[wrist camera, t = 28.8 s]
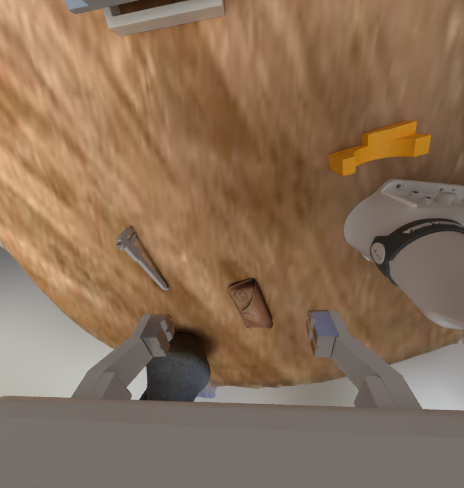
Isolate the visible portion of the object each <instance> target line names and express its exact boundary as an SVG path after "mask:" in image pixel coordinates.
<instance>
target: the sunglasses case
mask: <svg viewBox="0 0 464 488" xmlns="http://www.w3.org/2000/svg"><path fill="white" fill-rule="evenodd" d="M227 291H228V293H229V295H230V296H231V298H232V299H233V301H234V303H235V305H236V306H237V308H238V310H239V312H240V314H241V316H242V318H243V320H244V323H245V325H246V327H247V328H249V327H267V328H269V329H270V328H272V326H273V322H272V319H271V317H270V314H269V312H268V309H267V307H266V305H265V302H264V300H263V298H262V295H261V293H260V291H259V288H258V286H257V284H256V282H255V280H253V279H248V280H245V281H242V282H240V283H237V284H235V285H233V286H231V287H229V288H228V289H227Z"/></svg>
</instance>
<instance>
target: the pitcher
mask: <svg viewBox="0 0 464 488" xmlns="http://www.w3.org/2000/svg"><path fill="white" fill-rule="evenodd" d="M169 343H170V347H169V350H168V353H167V356H163V357H153V358H152V359H151V360H150V361H149V362H148V363H147V389H146V391H145V392H144V393H143V395H142V396H141V398H140V399H139V400H152V401H183V402H193V401H194V399H195V398H196V396H197V395H198V394H199V392H201V391H202V390H203V389H204V388H205V386H206V385H207V383H208V381H209V378H210V366H209V363H208V360H207V357H206V354H205V351H204V348H203V344H202V342H201V341H200V340H199V339H198V338H196V337H195V336H193V335H190V334H183V333H177V334H174V336H173V338H172V339H171V340H170V341H169Z"/></svg>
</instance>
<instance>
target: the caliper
mask: <svg viewBox="0 0 464 488" xmlns="http://www.w3.org/2000/svg"><path fill="white" fill-rule="evenodd" d="M131 230H132V228H127V229H126V230H124V231H123V232H122V233H121V234H120V235H119V237H118V239H117V241H118V244H117V245H116V246H120V250H123V249H124V250H125V251H126V252H127V253H128V254H129V255H130V256H131V257H132V258H133V259H134V260H135V261H137V262H138V263H139V264H140V265H141V266H142V267H143V268H144V270H145V271H146V272H147V273H148V274H149V275H150V276H151V277H152V278H153V280H154V281H155V282H156V283H157V284H158V285H159V286H160V287H161V288H162V289H164V290H169V289H168V287H167V284H166V283H165V282H164V281H163V280H162V278H161V277H160V276H159V275H158V274H157V273H156V271H155V270H154V269H153V268H152V267H151V266H150V264H149V263H148V262H147V261H146V260H145V258H144V257H143V256H142V254H143V252H142V251H140V249H139V248H138V247H136V246H135V245H134V242H135V238H136V233H133V234H131V236H130V237H129V239H127V237H128V235H129V233H130V231H131Z"/></svg>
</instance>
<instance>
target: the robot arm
mask: <svg viewBox="0 0 464 488" xmlns="http://www.w3.org/2000/svg"><path fill="white" fill-rule="evenodd" d="M397 185H399V186H398V187H397V188H396V186H397ZM344 236H345V239H346V241H347V242H348V243H349V244H350V245H351V246H352V247H354V248H355V249H357V250H358V251H360V252H361V254H362V255H363V257H364V258H366V259H367V260H370V261H372V262H373V263H374V264H375V265H376V266H377V267H378V269H379V270H380V271H381V272H382V273H383V274H384V275H385V276H386V278H387V279H388V280H389V281H391V282H392V283H393V284H394V285H396V286H398V287H400V289H401V290H402V291H403V292H404V293H405V294H406V295H407V296H408V297H409V298H410V300H411V301H412V302H413V303H414V304H415V305H416V306H417V307H418V308H419V309H420V310H421V312H422V313H423V314H424V315H425V316H426V317H427V318H428V319H430V320H431V321H433V322H434V323H436V324H438V325H441V326H444V327H447V328H451V329H458V330H464V186H463V185H457V184H446V183H436V182H426V181H415V180H405V179H395V178H392V179H389V180H387V181H386V182H385V183H384V184H383V185H382V186H381V187H380V188H379V189H378V190H377V191H376V192H375V193H373V194H372V195H370V196H368V197H367V198H365V199H364V200H362V201H361V202H360V203H358V204H357V205H356V206H355V207H354V208H353V210H352V211H351V212H350V213H349V215H348V217H347V219H346V221H345V224H344ZM307 316H308V319H307V321H306V328H307V333H308V337H309V338H310V339H311V348H312V351H313V355H314V357H328V358H331V359H332V360H333V361H334V363H335V364H336V365H337V366H338V367H339V368H340V369H341V370H342V372H343V373H344V374H345V375H346V376H347V377H348V378H349V379H350V381H351V382H352V383H353V384H354V385H355V386H356V387H357V388H358V389H359V392H358V395H357V396H356V399H355V401H354V404H355V407H335V406H304V405H275V404H245V403H244V404H243V403H213V402H183V401H152V400H130V399H131V397H132V395H131V393H130V391H129V390H128V389H127V388H126V387H127V386H128V385H129V384H130V382H132V380H133V379H134V378H135V377H136V376H137V375H138V374H139V372H140V371H141V370H142V369H143V368H144V367H145V366H146V365H147V363H148V362H149V361H150V360H151V359H152V358H153V357H163V356H167V353H168V350H169V347H170V343H169V341H170V340H171V339H172V338H173V336H174V331H175V327H174V323H173V322H172V321H171V320H170V319H171V316H170V314H144V315H143V316H142V318H141V320H140V322H139V324H138V325H137V327H136V329H135V331H134V333H133V335H132V336H131V338H128V339H127V340H126V341H124V342H123V343H122V344H121V345H119V346H118V347H117V348H116V349H114V350H113V351H112V352H111V353H110V354H108V355H107V356H106V357H105V358H104V359H102V360H101V361H100V362H98V363H97V364H96V365H95V366H94V367H92V368H91V369H90V370H89V371H88V372H87V374H86V375H85V377H84V378H83V380H82V381H81V383H80V384H79V386H78V388H77V389H76V391H75V392H74V394H73V395H72V397H71V398H59V397H28V396H27V397H25V396H3V397H0V488H464V411H459V410H428V409H422V408H421V406H420V404H419V403H418V401H417V399H416V398H415V396H414V395H413V393H412V391H411V390H410V388H409V386H408V385H407V383H406V382H405V380H404V378H403V376H402V375H401V374H400V373H398V372H397V371H396V370H395V369H393V368H392V367H391V366H390V365H388V364H387V363H386V362H385V361H383V360H382V359H381V358H380V357H378V356H377V355H376V354H375V353H373V352H372V351H371V350H370V349H368V348H367V347H366V346H365V345H363V344H362V343H361V342H360V341H358V340H357V339H356V338H355V337H351V336H350V334H349V332H348V330H347V328H346V326H345V324H344V322H343V320H342V318H341V316H340V314H339V312H338V310H308V312H307Z"/></svg>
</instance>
